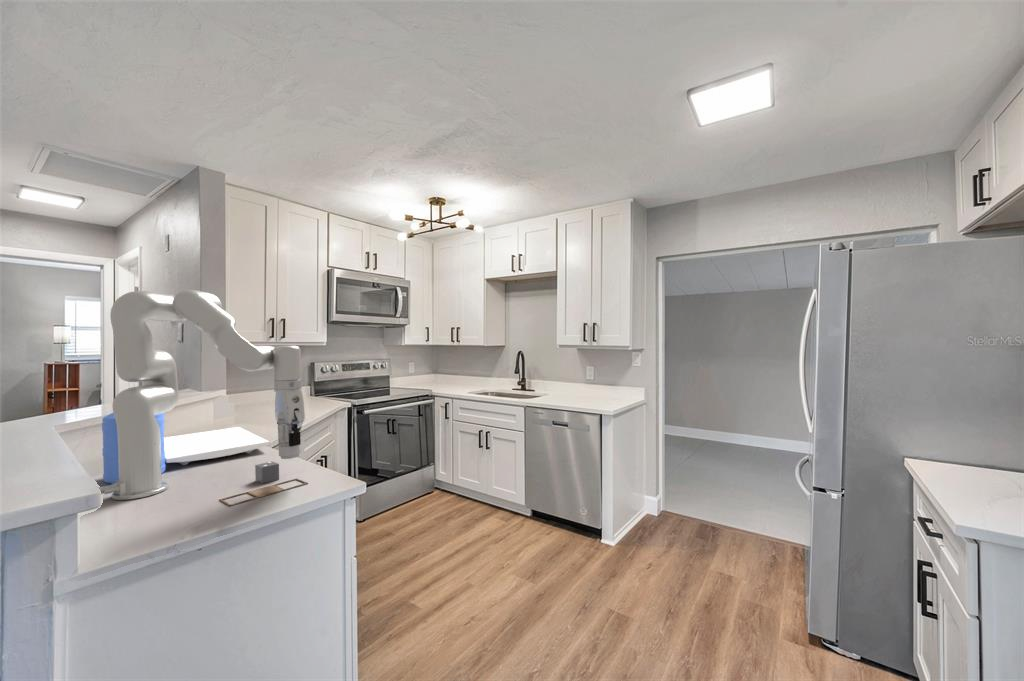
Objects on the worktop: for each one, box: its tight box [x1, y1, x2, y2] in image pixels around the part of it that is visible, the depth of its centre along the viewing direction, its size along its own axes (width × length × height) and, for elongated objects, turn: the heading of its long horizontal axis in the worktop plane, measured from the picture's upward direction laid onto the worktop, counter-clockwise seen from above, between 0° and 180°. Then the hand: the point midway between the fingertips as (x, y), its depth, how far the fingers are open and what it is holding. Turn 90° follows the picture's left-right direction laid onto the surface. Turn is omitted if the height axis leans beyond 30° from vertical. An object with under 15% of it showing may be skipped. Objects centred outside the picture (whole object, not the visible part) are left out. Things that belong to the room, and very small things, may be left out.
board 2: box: [218, 478, 309, 507], centre depth 124 cm, size 21×7×1 cm, turn 143°
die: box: [254, 461, 280, 484], centre depth 135 cm, size 5×5×5 cm
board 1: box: [164, 426, 270, 466], centre depth 173 cm, size 45×32×5 cm
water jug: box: [101, 412, 167, 484], centre depth 141 cm, size 16×16×28 cm
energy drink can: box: [277, 411, 302, 460], centre depth 130 cm, size 6×6×15 cm
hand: (289, 443), depth 130 cm, fingers closed on energy drink can, 6 cm apart
